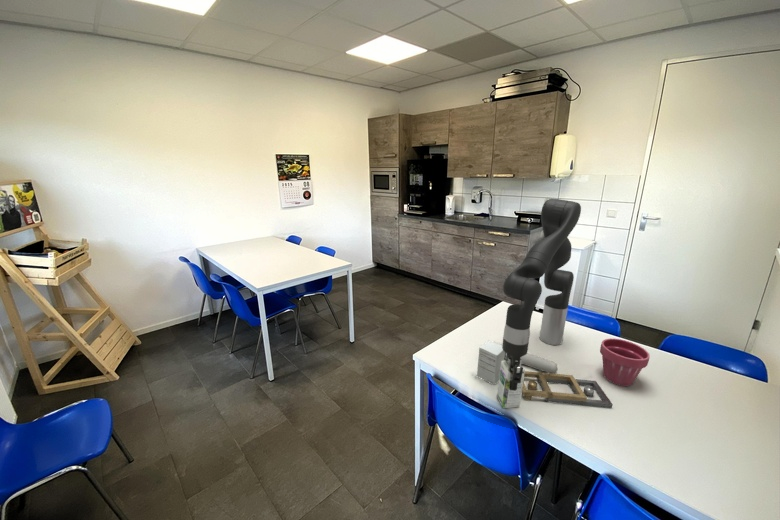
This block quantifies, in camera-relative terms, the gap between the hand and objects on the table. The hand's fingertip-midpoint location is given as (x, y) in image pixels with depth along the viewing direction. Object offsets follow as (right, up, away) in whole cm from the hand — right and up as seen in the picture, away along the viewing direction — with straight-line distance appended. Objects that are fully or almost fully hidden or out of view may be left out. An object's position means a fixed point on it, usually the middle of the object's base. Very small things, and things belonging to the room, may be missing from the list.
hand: (510, 382), depth 105 cm
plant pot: (+45, -4, +14) cm, 48 cm away
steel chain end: (+24, -6, +6) cm, 26 cm away
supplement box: (-2, -4, +15) cm, 16 cm away
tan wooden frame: (+16, -6, +8) cm, 19 cm away
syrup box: (0, -8, +2) cm, 8 cm away
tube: (+14, -1, +24) cm, 28 cm away
